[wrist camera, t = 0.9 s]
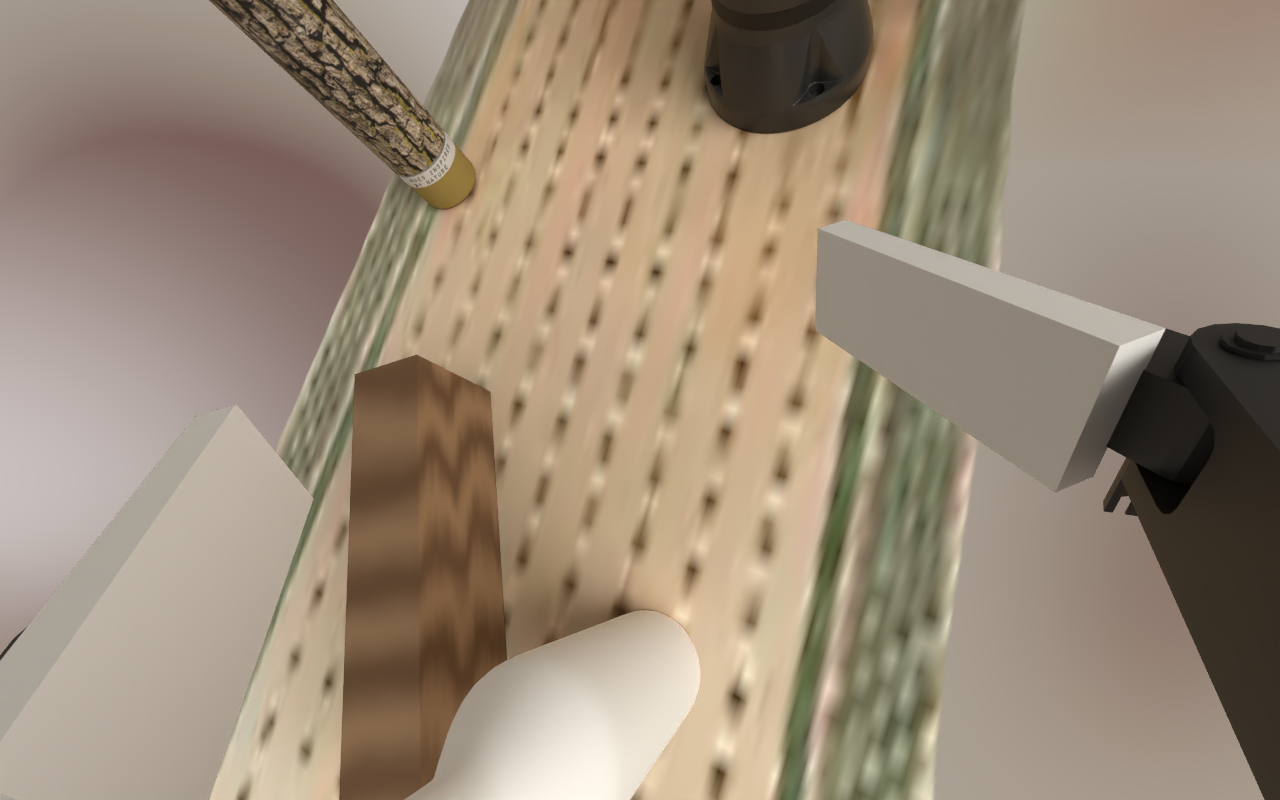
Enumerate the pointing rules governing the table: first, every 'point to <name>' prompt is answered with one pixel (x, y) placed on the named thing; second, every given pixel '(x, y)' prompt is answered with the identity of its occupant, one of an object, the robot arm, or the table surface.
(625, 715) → the bottle
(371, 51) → the paper tube
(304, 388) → the table surface
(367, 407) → the wooden block
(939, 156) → the table surface
